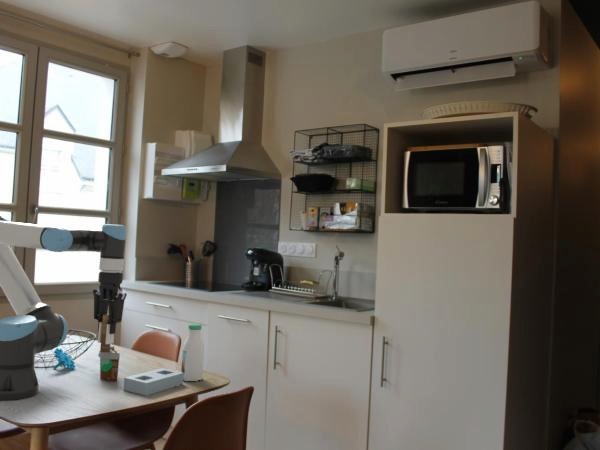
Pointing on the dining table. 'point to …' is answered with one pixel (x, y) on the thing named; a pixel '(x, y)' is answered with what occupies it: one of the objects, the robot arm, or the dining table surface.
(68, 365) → the gear
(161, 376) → the hole block
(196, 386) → the dining table surface
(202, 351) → the milk bottle
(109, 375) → the food container
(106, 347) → the peg
